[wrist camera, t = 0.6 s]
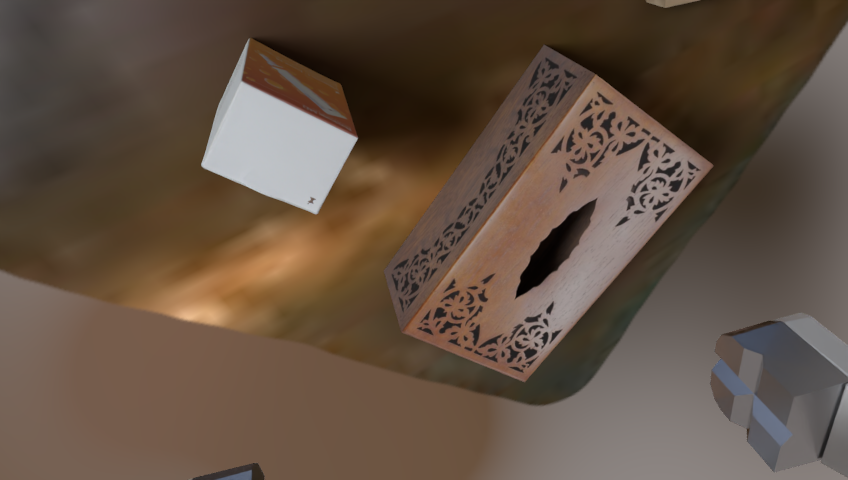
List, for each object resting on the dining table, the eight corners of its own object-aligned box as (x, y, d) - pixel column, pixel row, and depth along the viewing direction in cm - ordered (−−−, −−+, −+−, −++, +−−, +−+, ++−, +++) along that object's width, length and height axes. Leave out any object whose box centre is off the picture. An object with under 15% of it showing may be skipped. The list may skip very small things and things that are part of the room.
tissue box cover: (492, 319, 66) (524, 382, 57) (383, 269, 59) (401, 332, 51) (649, 125, 58) (713, 165, 49) (542, 44, 51) (595, 74, 43)
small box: (342, 82, 49) (362, 138, 38) (308, 147, 51) (318, 218, 40) (248, 33, 46) (240, 79, 35) (216, 105, 48) (198, 169, 37)
